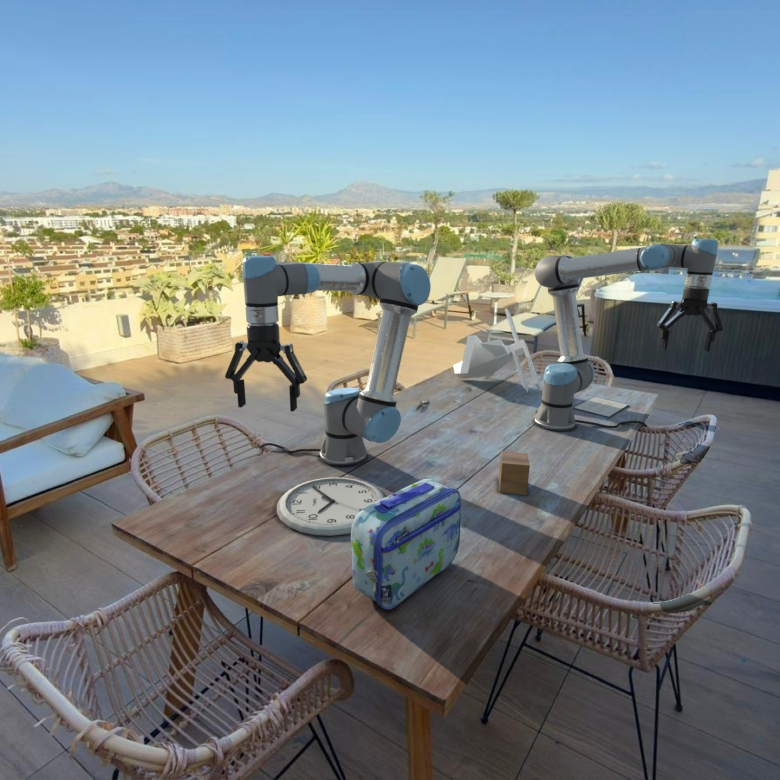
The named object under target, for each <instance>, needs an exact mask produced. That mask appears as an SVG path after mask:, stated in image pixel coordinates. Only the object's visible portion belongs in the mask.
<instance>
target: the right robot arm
mask: <svg viewBox="0 0 780 780" xmlns="http://www.w3.org/2000/svg"><path fill="white" fill-rule="evenodd" d="M718 246H719V241H718V240H717V239H713V238H711V239H709V238H694V239H693V240H692V242H691V244H673V243H672V244H671V243H655V244H651V245H648V246H642V247H635V248H628V249H622V250H617V251H616V250H615V251H609V252H602V253H598V254H590V255H584V256H577V257H573V256H570V255H565V254H563V255H555V256H554V255H553V256H551V255H550V256H547V257H544V258H542V259H540V261H538V263H537V264H536V266H535V268H534V277H535V280H536V281H537V283H538V284H539V285H540V286H542V287H544V288H546V289H547V293H548V295H549V296H551V297H552V301H553V311H554V317H555V325H556V331H557V340H558V346H559V353H560V357H559V358H558V359H557V360H556V361H557V363H551V364H549V365H547V366H546V367H545V370H544V373H543V381H542V382H543V383H542V394H541V402H540V405H539V407H538V409H536V410H535V416H534V424H535V425H536V426H537V427H539V428H542V429H544V430H549V431H556V432H567V431H572V430H574V429H575V428H576V423H577V424H586V425H592V426H597V427H601V428H604V429H605V428H606V429H616V428H619V427H620V426H621V425H627V424H639V425H642V426H643V427H644V428H648V427H649V426H648V425H647V424H646V423H645V422H643V421H640V420H628V421H620V422H618V423H617V424H616V425H608V424H603V423H599V422H593V421H587V420H580V419H576V418H575V417H576V416H575V413H574V407H573V405H574V398H575V394H578V393H580V392H582V391H584V390H586V389H588V388H589V386H591V385H592V383H593V382H594V379H595V370H594V368H593V366H592V365H591V364H590V363H589V356H588V355H586V354H585V353H584V349H583V341H582V334H581V333H582V332H581V326H580V318H579V309H578V302H577V295H576V294H577V292H578V290H579V289H580V284H579V280H580V279H587V278H588V279H589V278H596V277H602V276H611V275H619V274H627V273H633V272H642V271H643V272H644V271H655V270H661V269H667V268H675V269H686V275H685V281H684V286H685V287H684V288H683V291H682V296H681V301H676V300H671V302H670V304H669V307H668V308H667V310H666V311H665V312H664V314H663V316H662V317H661V318H660V320H659V321H658V322H657V323H656V327H657V328H659V329H661V333H660V339H661V340H662V344H661V349H662V350H664V351H665V350H667V349H668V344H669V339H670V332H671V330H669V329H670V328H672V327H673V326H674V325H675V324H677V322H679V320H680V319H682V318H683V317H684V316H685V315H686V316H695V317H698V316H699V317H700V318H701V319H702V321H703V322H704V324H705V325H706V327H707V328H708V329H709V330H707V331H706V336H705V342H704V347H703V350H704V351H705V352H707V353H708V352H709V353H710V350H711V347H712V343H713V342H715V340H716V335H717V333H718V332H722V331H724V326H723V324H722V323H723V322H722V321H721V317H720V315H719V312H718V303H717V302H714V301H712V302H708V299H709V296H710V288H711V285H712V281H713V280H712V279H713V275H714V269H715V264H716V260H717V256H718V248H719V247H718ZM679 307H680V309H679V310H678V311H677V313H676V314H674V313H675V311H676V309H678V308H679ZM707 308H708V310H710V314H711V317H712V320H713V322H712V320H711V319H710V318H709V316H708V314H707V313H706V311H705V310H706V309H707ZM673 314H674V315H673ZM672 315H673V316H672ZM671 316H672V317H671ZM713 323H714V324H713Z"/></svg>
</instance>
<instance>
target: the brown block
mask: <svg viewBox="0 0 780 780" xmlns="http://www.w3.org/2000/svg"><path fill="white" fill-rule="evenodd" d="M530 468H531V465H530V459H529V454H528V453H526V452H514V451H505V450H504V451H503V450H502V451H500V461H499V472H498V491H499V493H501V494H511V495H520V496H521V495H523V496H527V495H528V488H529V487H528V485H529V477H530Z"/></svg>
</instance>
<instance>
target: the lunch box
mask: <svg viewBox="0 0 780 780" xmlns="http://www.w3.org/2000/svg"><path fill="white" fill-rule="evenodd" d="M461 499H462V498H461V493H460V491H459V490H458V489H457V488H454V487H451V488H449V487H447V486H446V485H444V484H441V483H440V482H437V481H436V480H434V479H431V478H424V479H421V480H418V481H416V482H414V483H412V484H410V485H408V486H405V487H404V488H401V489H399V490H397V491H395V492H393V493H392V494H389V495H387V496H385V498H383V499H381V500H379V501H377V502H375V503H374V504H371V505H369V506H367V507H366V508H364V509H362V510H361V511H360V512H359V513H358V514H357V516H356V517H355V519H354V521H353V524H352V529H351V533H350V547H351V548H350V552H351V576H352V584H353V588H354V590H356V591H357V592H359V593H360V594H363V595H365V596H367V597H368V598H369V599H371V600H372V601H374V602H376V604H377V606H378V607H379V608H382V609H384V610H386V611H387V610H388V611H390V610H393V609H394V608H396V607H397V606H398V605H400V604H401V603H402V602H403V601H405V600H406V599H407V598H408V597H409V596H411V595H412V594H413V593H415V592H417V590H419V589H420V588H422V587H423V586H424V585H425V584H426V583H428V581H430V580H431V579H432V578H434V577H435V576H438V574H440V573H441V572H443V571H445V570H446V569H447V568H448V567H449V566H451V564H452V563H453V562H454V560H455V558H456V556H457V554H458V551H459V548H460V541H461V522H462V521H461V519H462V515H461V513H462V512H461V510H462V509H461V508H462V506H461V505H462V504H461V503H462V502H461Z"/></svg>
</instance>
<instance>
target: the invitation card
mask: <svg viewBox="0 0 780 780" xmlns="http://www.w3.org/2000/svg"><path fill="white" fill-rule="evenodd" d="M628 406H629V404H627V403H623V402H618V401H614V400H609V399H605V398H601V397H596V396H593V397H592V398H590V399H588V400H586V401H584V402H582V403H580V404H578V405H575V406H574V407H573V409H575V410H581V411H584V412H587V413H593V414H596V415H600V416H604V417H608V418H609V417H611V416H613V415H614V414H616V413H617V412H619V411H621V410H623V409H624V408H626V407H628Z"/></svg>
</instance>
